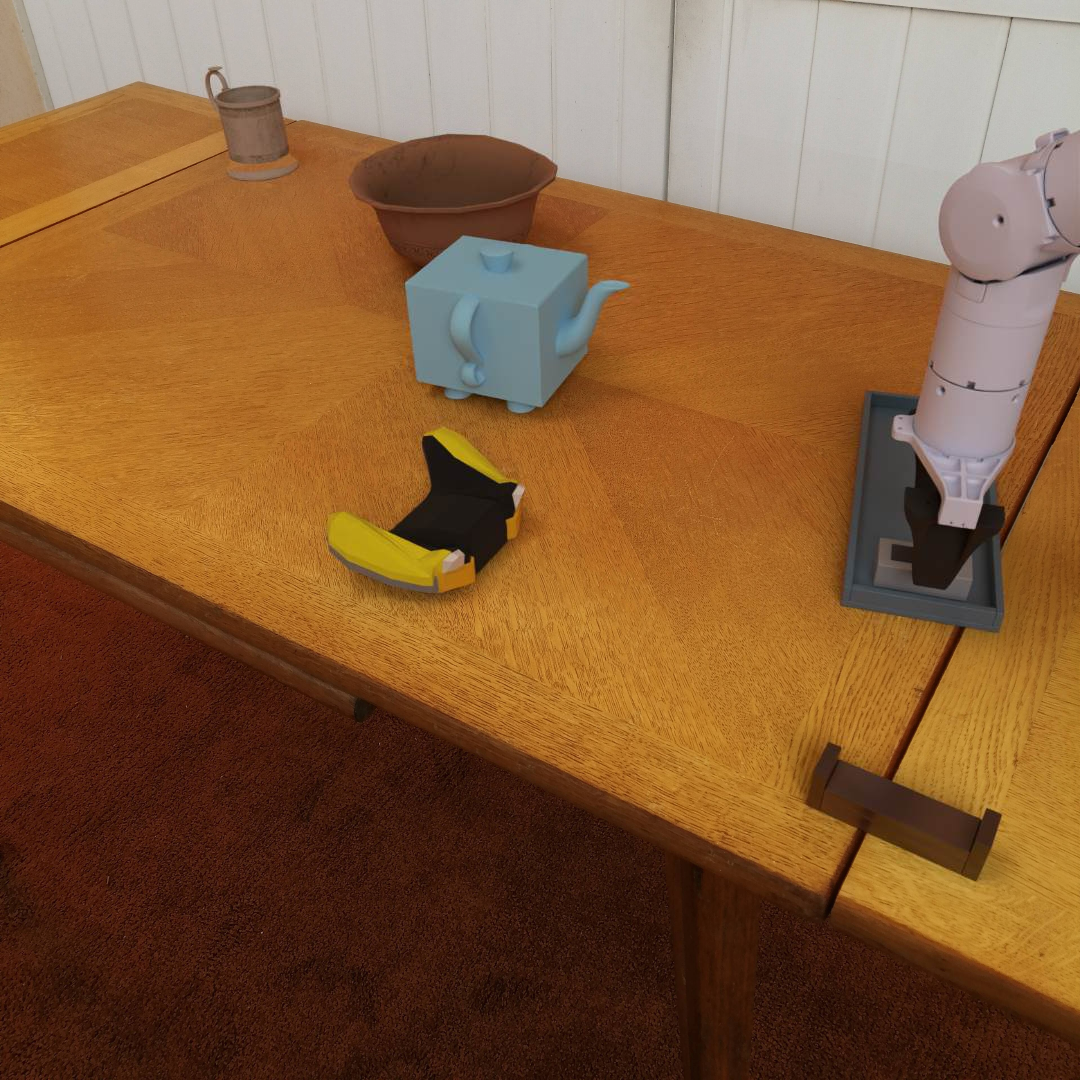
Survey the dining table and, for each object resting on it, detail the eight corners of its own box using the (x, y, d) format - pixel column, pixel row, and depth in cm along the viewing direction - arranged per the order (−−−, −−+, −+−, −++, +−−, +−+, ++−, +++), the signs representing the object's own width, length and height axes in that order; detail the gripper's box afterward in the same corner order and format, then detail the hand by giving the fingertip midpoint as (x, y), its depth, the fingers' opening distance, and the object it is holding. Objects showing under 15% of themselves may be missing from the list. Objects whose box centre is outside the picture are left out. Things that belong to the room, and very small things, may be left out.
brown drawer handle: (987, 847, 53) (1002, 813, 51) (976, 882, 51) (991, 848, 50) (820, 774, 57) (828, 741, 55) (805, 805, 55) (812, 771, 53)
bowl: (547, 220, 121) (544, 127, 114) (573, 301, 104) (572, 197, 97) (364, 234, 119) (350, 140, 112) (360, 319, 102) (343, 214, 95)
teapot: (404, 410, 88) (385, 273, 80) (483, 332, 99) (474, 204, 91) (593, 453, 82) (594, 309, 74) (655, 365, 93) (662, 231, 85)
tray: (985, 422, 84) (990, 404, 83) (998, 633, 65) (1005, 614, 64) (862, 406, 87) (866, 389, 85) (840, 605, 68) (844, 587, 66)
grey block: (965, 573, 69) (972, 549, 67) (965, 602, 67) (973, 578, 65) (874, 558, 70) (880, 535, 69) (872, 586, 68) (878, 562, 67)
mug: (312, 165, 139) (296, 72, 131) (254, 186, 133) (233, 90, 125) (251, 145, 146) (232, 56, 139) (193, 163, 141) (170, 72, 133)
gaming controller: (322, 582, 71) (438, 629, 67) (308, 521, 68) (429, 567, 64) (442, 473, 81) (549, 508, 77) (435, 415, 77) (547, 448, 73)
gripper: (910, 304, 64) (873, 476, 73) (904, 423, 54) (861, 608, 62) (1028, 316, 63) (976, 491, 71) (1046, 441, 52) (982, 629, 61)
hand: (930, 547), depth 67 cm, fingers open, 7 cm apart
